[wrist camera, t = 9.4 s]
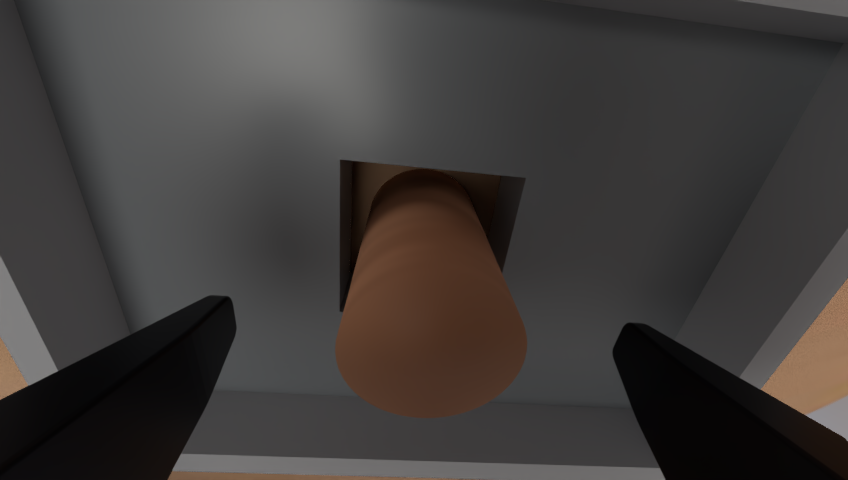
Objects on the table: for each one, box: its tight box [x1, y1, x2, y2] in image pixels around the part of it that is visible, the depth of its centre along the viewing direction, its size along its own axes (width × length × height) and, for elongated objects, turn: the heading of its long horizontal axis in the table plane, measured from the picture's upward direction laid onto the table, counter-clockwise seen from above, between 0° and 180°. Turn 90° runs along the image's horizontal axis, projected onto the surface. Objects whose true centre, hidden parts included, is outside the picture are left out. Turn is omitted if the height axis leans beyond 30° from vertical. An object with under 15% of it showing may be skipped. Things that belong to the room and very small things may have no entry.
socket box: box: [0, 0, 848, 480], centre depth 11 cm, size 22×16×5 cm
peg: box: [335, 169, 527, 418], centre depth 10 cm, size 4×4×7 cm
